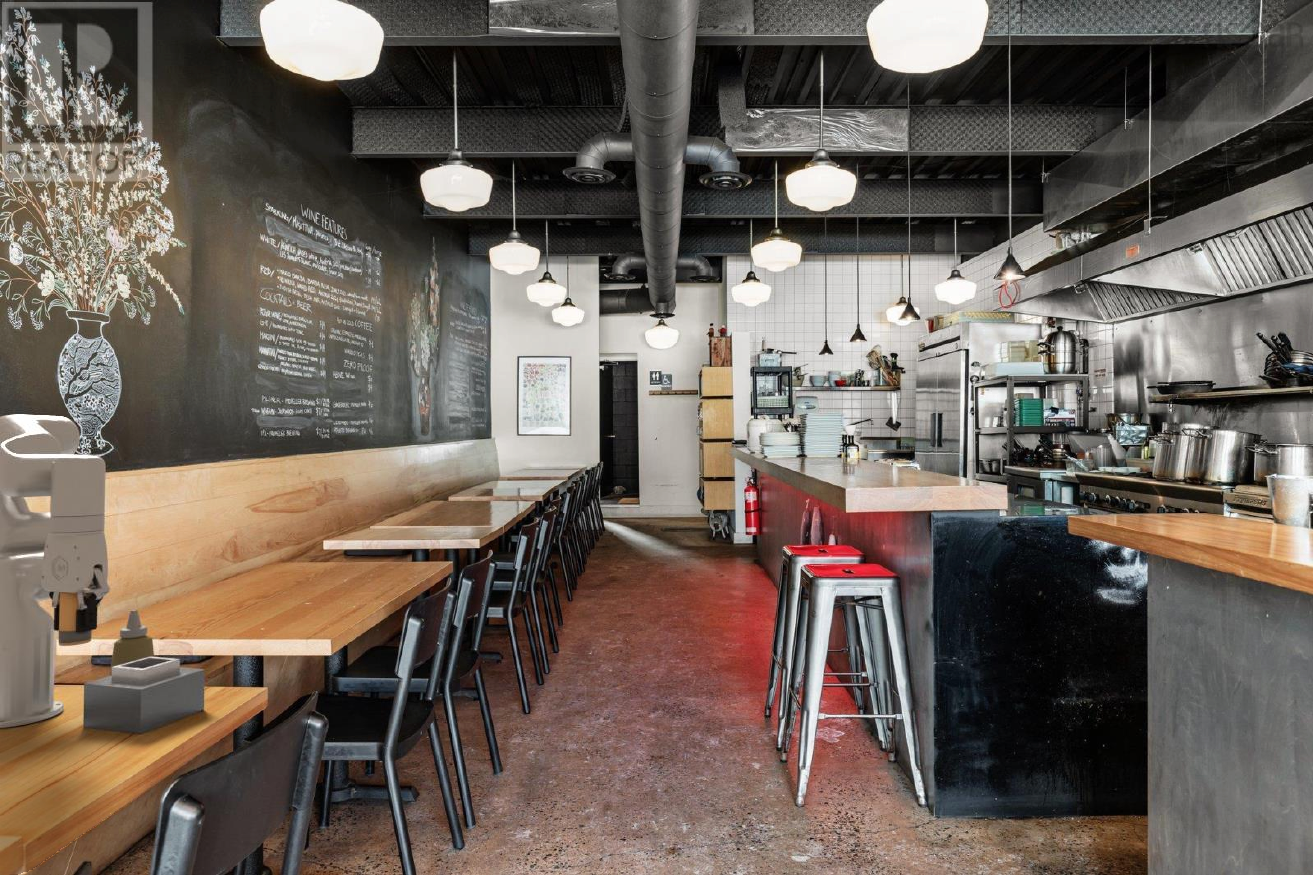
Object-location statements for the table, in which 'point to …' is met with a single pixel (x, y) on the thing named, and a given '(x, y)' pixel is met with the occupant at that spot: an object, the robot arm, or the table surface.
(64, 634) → the orange cylinder
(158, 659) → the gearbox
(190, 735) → the table surface
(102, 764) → the table surface
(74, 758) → the table surface
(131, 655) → the squeeze bottle
